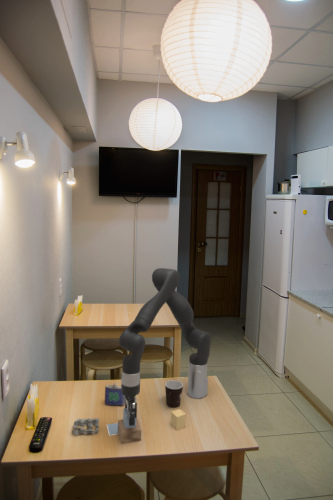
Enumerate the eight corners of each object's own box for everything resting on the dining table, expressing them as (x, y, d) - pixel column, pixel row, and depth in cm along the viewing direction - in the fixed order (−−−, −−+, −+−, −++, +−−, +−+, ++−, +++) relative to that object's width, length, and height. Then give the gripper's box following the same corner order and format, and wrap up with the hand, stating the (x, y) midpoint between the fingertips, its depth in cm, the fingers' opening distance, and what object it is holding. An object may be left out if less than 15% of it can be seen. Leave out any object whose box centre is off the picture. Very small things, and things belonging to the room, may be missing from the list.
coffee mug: (173, 397, 177) (173, 378, 176) (185, 404, 171) (186, 385, 170) (155, 405, 169) (156, 386, 168) (168, 413, 163) (169, 393, 162)
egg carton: (71, 437, 145) (71, 427, 144) (74, 425, 152) (74, 416, 152) (98, 436, 146) (98, 427, 145) (99, 425, 153) (99, 416, 153)
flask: (124, 403, 170) (125, 382, 169) (123, 406, 167) (124, 385, 166) (105, 402, 171) (105, 381, 169) (103, 405, 168) (104, 384, 166)
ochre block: (179, 421, 158) (180, 409, 157) (185, 427, 154) (185, 414, 153) (170, 424, 155) (171, 411, 155) (176, 430, 151) (177, 417, 151)
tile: (124, 422, 155) (124, 421, 155) (127, 433, 148) (127, 432, 148) (106, 425, 153) (106, 424, 153) (109, 435, 146) (109, 435, 146)
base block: (136, 427, 151) (136, 417, 150) (140, 441, 144) (141, 429, 143) (117, 430, 149) (118, 420, 148) (121, 444, 141) (121, 433, 140)
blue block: (133, 420, 148) (134, 407, 147) (135, 427, 144) (136, 413, 143) (122, 421, 147) (123, 408, 146) (124, 428, 143) (125, 415, 142)
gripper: (144, 388, 138) (142, 428, 140) (136, 372, 151) (134, 408, 153) (124, 391, 135) (123, 431, 137) (118, 374, 149) (117, 410, 151)
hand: (129, 419), depth 145 cm, fingers open, 8 cm apart
